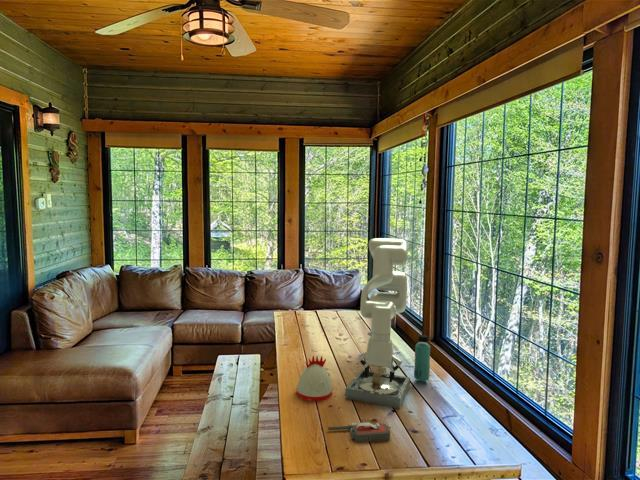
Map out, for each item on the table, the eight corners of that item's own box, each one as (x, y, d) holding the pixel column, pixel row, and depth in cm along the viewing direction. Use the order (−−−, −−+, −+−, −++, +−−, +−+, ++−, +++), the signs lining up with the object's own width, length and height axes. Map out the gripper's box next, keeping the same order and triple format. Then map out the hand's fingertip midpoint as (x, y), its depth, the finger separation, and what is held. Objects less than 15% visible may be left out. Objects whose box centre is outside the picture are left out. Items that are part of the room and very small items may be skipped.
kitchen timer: (335, 400, 167) (336, 361, 166) (299, 402, 165) (299, 363, 163) (328, 385, 181) (329, 349, 179) (295, 386, 178) (295, 350, 177)
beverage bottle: (430, 380, 188) (432, 334, 187) (428, 386, 182) (430, 338, 180) (414, 377, 190) (416, 332, 189) (412, 383, 184) (414, 336, 182)
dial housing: (360, 378, 188) (360, 368, 188) (409, 387, 180) (410, 377, 180) (345, 398, 169) (345, 387, 168) (399, 408, 161) (400, 397, 161)
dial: (364, 376, 185) (365, 362, 184) (402, 382, 179) (403, 368, 178) (353, 391, 170) (353, 376, 169) (394, 398, 164) (395, 383, 164)
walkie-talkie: (385, 427, 148) (327, 430, 145) (386, 414, 148) (327, 417, 145) (394, 441, 140) (332, 445, 136) (394, 428, 139) (332, 431, 136)
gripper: (356, 336, 172) (355, 378, 174) (400, 342, 166) (399, 386, 167) (362, 331, 179) (360, 372, 180) (404, 336, 173) (402, 379, 174)
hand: (379, 378), depth 174 cm, fingers open, 9 cm apart
